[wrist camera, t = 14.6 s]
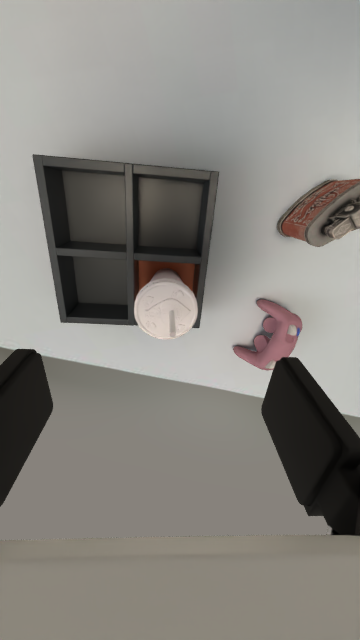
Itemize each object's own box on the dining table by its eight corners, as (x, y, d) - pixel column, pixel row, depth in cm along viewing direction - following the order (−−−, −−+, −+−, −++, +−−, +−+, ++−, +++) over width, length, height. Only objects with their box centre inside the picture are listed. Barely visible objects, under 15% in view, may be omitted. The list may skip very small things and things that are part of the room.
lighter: (285, 242, 31) (332, 260, 23) (271, 221, 30) (315, 231, 21) (342, 196, 29) (419, 196, 20) (330, 172, 28) (407, 160, 19)
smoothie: (190, 302, 34) (204, 364, 21) (144, 305, 34) (131, 368, 21) (189, 256, 31) (204, 296, 18) (139, 259, 31) (120, 301, 18)
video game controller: (247, 349, 41) (279, 378, 36) (228, 351, 38) (259, 382, 33) (275, 297, 37) (315, 322, 32) (256, 295, 34) (296, 321, 29)
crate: (210, 175, 28) (219, 171, 23) (195, 311, 35) (199, 328, 31) (55, 161, 26) (32, 154, 22) (74, 305, 34) (60, 322, 30)
